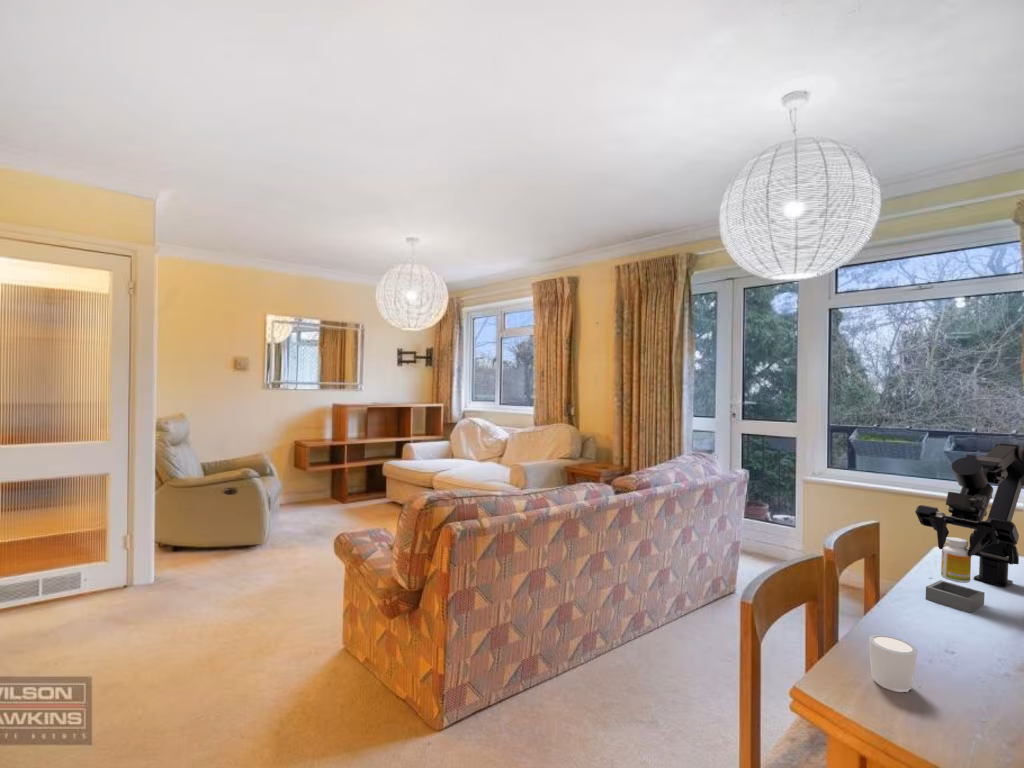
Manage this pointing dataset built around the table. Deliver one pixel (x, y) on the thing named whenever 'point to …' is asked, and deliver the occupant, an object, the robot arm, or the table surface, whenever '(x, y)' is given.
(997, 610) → the table surface
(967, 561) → the supplement bottle
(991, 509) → the robot arm
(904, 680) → the white cylinder
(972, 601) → the frame
